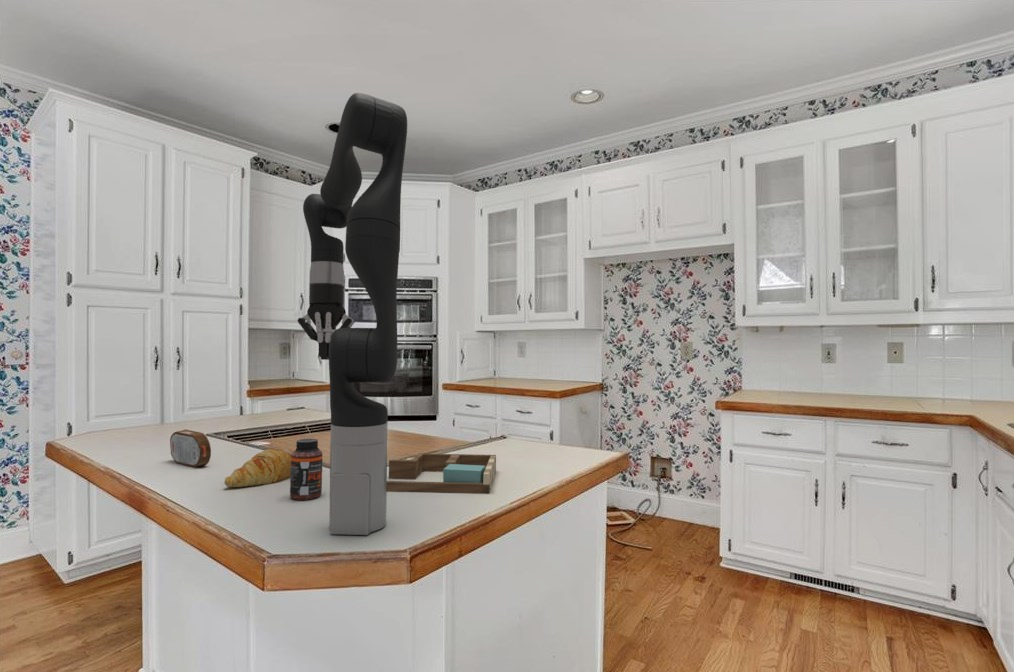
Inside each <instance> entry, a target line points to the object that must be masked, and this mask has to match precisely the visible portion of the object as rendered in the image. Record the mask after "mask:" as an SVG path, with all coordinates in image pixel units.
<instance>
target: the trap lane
mask: <svg viewBox="0 0 1014 672" xmlns="http://www.w3.org/2000/svg"><path fill="white" fill-rule="evenodd" d="M449 464H460V465H481V466H485V471H484V474H483V483H458V482H443V481H414V480H416V479H417V478H418V477H419V476H420V474H421V473H422V472H437V471H443V469H444V468H445V467H447V466H448V465H449ZM496 472H497V455H496V454H472V453H471V454H469V453H468V454H463V453H462V454H461V453H460V454H459V453H418V454H417V455H415V456H414V457H413V458H412V459H389V460H388V479H389V478H390V480H387V492H402V493H403V492H408V493H415V492H416V493H446V492H447V493H448V494H449V493H450V494H452V493H454V494H456V493H457V494H490V492H491V489H492V488H491V487H492V485H493V481H494V479H495V475H496ZM391 478H392V479H393V480H391ZM395 479H396V480H395ZM399 480H401V481H399ZM403 480H404V481H403ZM407 480H408V481H407ZM409 480H410V481H409ZM411 480H413V481H411Z"/></svg>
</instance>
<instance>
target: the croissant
mask: <svg viewBox="0 0 1014 672" xmlns="http://www.w3.org/2000/svg"><path fill="white" fill-rule="evenodd" d="M291 454H292V453H291ZM291 454H290V453H287V452H286V451H284V450H282V449H279V448H278V449H277V448H270V449H266V450H263V451H261V452H259V453H256V454H255V455H253V456H252V457H251V459H249V460H247V461H246V462H244V463H243V465H242V466H241V467H239V468H236V469H234V471H233V472H232V473H231V475H229V476H226V477H225V478H224V485H225V487H227V488H244V487H245V488H246V487H251V486H252V487H253V486H254V485H255V486H262V485H261V484H263V485H268V484H267V483H270V484H275V483H277V482H279V481H278V480H280V481H283V479H284V480H286V479H288V478H290V476H291V474H290V473H291ZM272 482H273V483H272ZM255 486H254V487H255Z"/></svg>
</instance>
